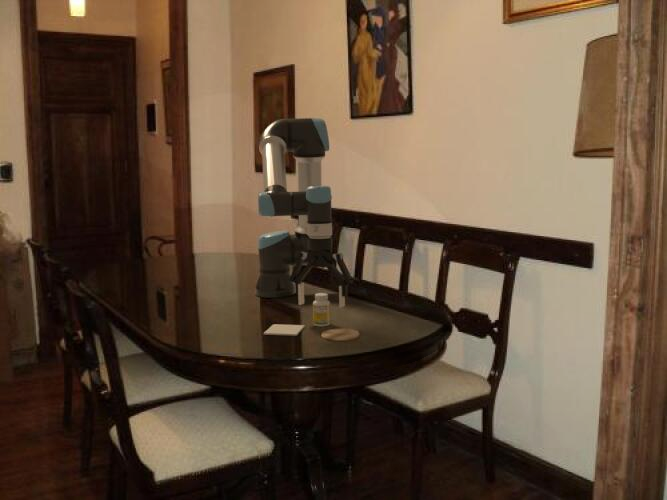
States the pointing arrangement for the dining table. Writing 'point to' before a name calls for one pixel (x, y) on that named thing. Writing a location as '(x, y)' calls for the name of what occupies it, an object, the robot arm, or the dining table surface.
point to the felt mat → (284, 330)
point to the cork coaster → (340, 334)
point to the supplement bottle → (321, 310)
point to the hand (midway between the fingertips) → (321, 305)
